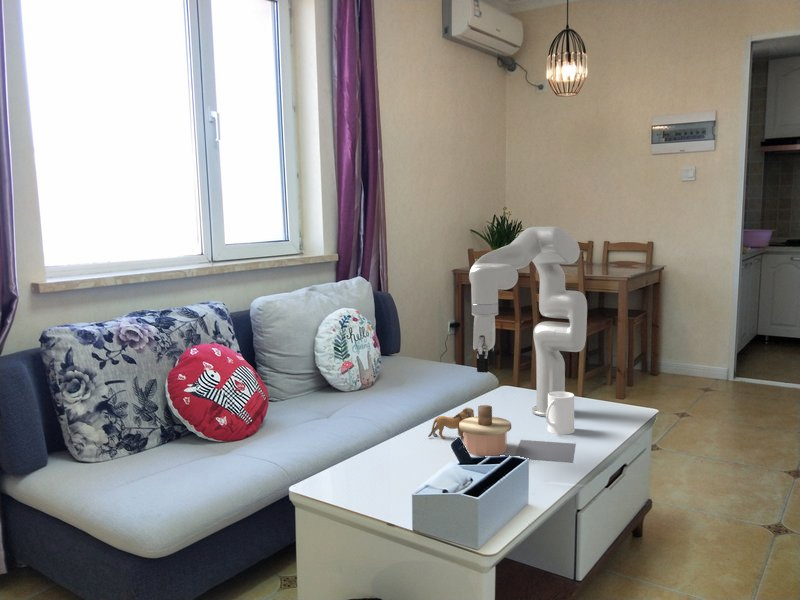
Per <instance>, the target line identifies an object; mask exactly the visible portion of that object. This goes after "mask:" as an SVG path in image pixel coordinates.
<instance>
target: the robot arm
mask: <svg viewBox="0 0 800 600" xmlns="http://www.w3.org/2000/svg"><path fill="white" fill-rule="evenodd" d="M580 254H581V249H580V245H579V243H578V241H577V239H576V238H574V236H571V234H570V233H569V232H567V231H566V230H564V229H563V228H561V227H558V226H530V227H528V228H526V229H524V230H523V231H522V232H521V233H519V235H518V236H517V237H515V238H514V240H512V242H510V243H509V244H507V245H504V246H502V247H500V248H497V249H495V250H491V251H489V252H487V253H486V254H483V255H481V257H480V258H478V259H477V260H476V261H475V262H474V263H473V265H472V266H471V268H470V269H469V274H468V279H469V283H470V284H471V285H470V286H471V288H470V289H471V315H472V316H473V317H474V319H473V338H472V340H473V342H472V344H473V345H472V348H473V351H476V372H477V373H489V371H490V369H489V368H490V367H489V366H494V365H495V347H494V346H495V344H496V318H495V317H496V316H498V315H499V290H510V289H512V288H513V287H514V286H516V284H517V283H518V280H519V272H518V270H520V269H523V268H526V267H528V266H529V264H530V263H531V262H532V263H533V265H534V266H535V268H536V269H537V272H538V277H539V295H538V296H539V297H538V308H539V312H540V315H541V316H542V317H545V318H550V319H551V318H552V319H565V320H568V321H569V322H561V321H541V322H539V323H538V324H536V325H535V326H534V328H533V332H532V333H533V334H532V335H533V343H534V348H535V357H536V358H535V359H536V360H535V361H536V363H535V364H536V405H535V406H532V408H531V413H532V414H534V415H536V416H540V417H543V418H544V417H545V418H546V411H547V408H548V393H550V392H557V391H562V392H566V386H565V385H566V384H565V382H566V376H565V375H566V374H565V373H566V372H565V371H566V364H565V363H566V362H565V359H564V357H563V355H562V354H561V352H571V353H572V352H574V353H578V352H581V351H583V349H585V347H586V346H585V345H586V341H587V328H588V327H587V325H588V324H587V321H588V320H587V319H588V301H587V299H586V296H585V294H584V293H583V292H581V291H579V290H568V289H567V290H566V274H565V272H564V270H563V268H562V266H561V265H572V264H573V265H574V264H575V263H576V262H577V261H578V260H579V258H580ZM560 351H561V352H560Z"/></svg>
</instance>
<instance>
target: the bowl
mask: <svg viewBox="0 0 800 600" xmlns="http://www.w3.org/2000/svg"><path fill="white" fill-rule="evenodd" d="M507 433H508V432H506V433H502V434H497V435H475V434H470V433H466V432H464V433H463V436H464V439H463V446H464V445H465V446H466V448H467V450H468V451H469V453H468V454H471V455H474V456H479V457H480V456H481V457H488V456H487V455H493V456H499V455H501V454H503V453H504V454H505V453H506V452H507V449H508V448H507V446H508V443H507V440H508V437H507V435H508V434H507Z"/></svg>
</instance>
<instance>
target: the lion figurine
mask: <svg viewBox="0 0 800 600" xmlns="http://www.w3.org/2000/svg"><path fill="white" fill-rule="evenodd" d="M470 417H475V413H474V408H471V407H464V408H463V409H462V410H461V411H460V412H458V413H457V414H455V416H445V415H440V416H437V417H436V418H435V419H434V421H433V423H432V427H431V431H430V433H429V434H428V436H427V437H429V438H430V437H432V436H434V437H437V435H439V437H440V438H441V439H442V440H445V439H446V436H444V435H443V432H444V428H445V427H446V428H448V429H450V430H455V429H457V435H458V436H459V437H460V438H461V439H463V440H464V431H462V430H461V429H460V428H459V423H460V421H462V420H464V419H466V418H470ZM438 430H439V431H438ZM436 431H438V434H437V433H436Z"/></svg>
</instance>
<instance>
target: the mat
mask: <svg viewBox="0 0 800 600" xmlns="http://www.w3.org/2000/svg"><path fill="white" fill-rule="evenodd" d="M575 450H576V443H570V442H556V441H546V440H545V441H544V440H543V441H542V440H529V439H528V440H527V439H520V441H519V443H518V446H517V448H516V451H515V453H514V455H513V457H514V456H520V457H524V458H529V459H528V460H529V461H530V460H531V461H546V462H556V463H557V462H558V463H569V464H571V463H572V464H573V462H574V457H575V456H574V455H575Z"/></svg>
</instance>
